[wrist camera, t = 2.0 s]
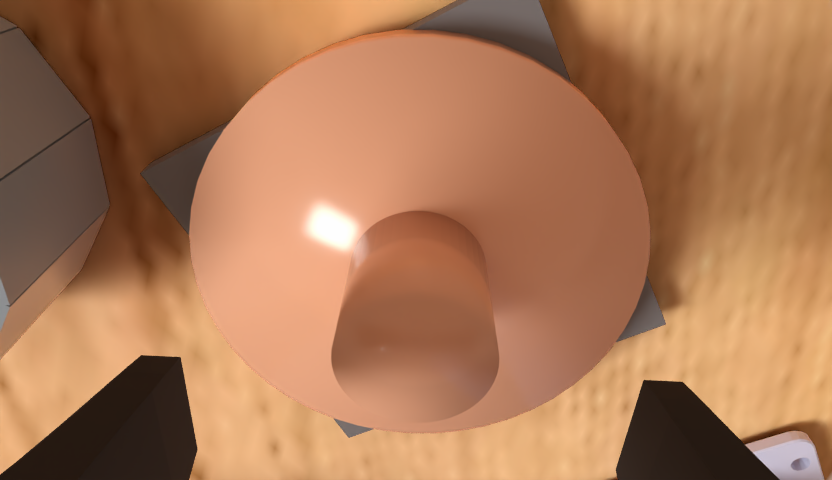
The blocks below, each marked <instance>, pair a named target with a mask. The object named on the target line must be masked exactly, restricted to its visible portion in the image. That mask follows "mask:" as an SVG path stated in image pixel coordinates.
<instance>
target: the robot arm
mask: <svg viewBox="0 0 832 480" xmlns="http://www.w3.org/2000/svg"><path fill="white" fill-rule="evenodd" d="M196 453H197V445H196V439H195V434H194V428H193V423H192V417H191V412H190V406H189V401H188V395H187V390H186V384H185V379H184V373H183V368H182V363H181V357H165V356H144V355H141V356H140V357H139V358H138V359H136V360H135V361H134V362H133V363H132V364H130V365H129V366H128V367H127V368H126V369H125V370H123V371H122V372H121V373H120V374H119V375H118V376H116V377H115V378H114V379H113V380H112V381H111V382H109V383H108V384H107V385H106V386H105V387H104V388H102V389H101V390H100V391H99V392H98V393H97V394H96V395H94V396H93V397H92V398H91V399H90V400H89V401H88V402H86V403H85V404H84V405H83V406H82V407H81V408H80V409H78V410H77V411H76V412H75V413H74V414H73V415H71V416H70V417H69V418H68V419H67V420H66V421H64V422H63V423H62V424H61V425H60V426H59V427H57V428H56V429H55V430H54V431H53V432H51V433H50V434H49V435H48V436H47V437H46V438H44V439H43V440H42V441H41V442H40V443H38V444H37V445H36V446H35V447H34V448H32V449H31V450H30V451H29V452H28V453H26V454H25V455H24V456H23V457H22V458H20V459H19V460H18V461H17V462H16V463H14V464H13V465H12V466H11V467H9V468H8V469H7V470H6V471H4V472H3V473H2V474H1V475H0V480H189V478H190V474H191V471H192V467H193V464H194V460H195V456H196ZM616 473H617V478H618V480H825V479H824V476H823V472H822V469H821V465H820V462H819V458H818V455H817V451H816V447H815V445H814V444H813V442H812V441H811V439H810V438H809V436H808V435H807V434H806V433H804V432H802V431H789V432H785V433H781V434H778V435H775V436H771V437H768V438H765V439H761V440H758V441H755V442H752V443H748V444H744V443H743V442H742V441H741V440H740V439H739V438H738V437H737V436H736V435H735V434H734V433H733V432H732V431H731V430H730V429H729V428H728V427H727V426H726V425H725V424H724V423H723V422H722V421H721V420H720V419H719V418H718V417H717V416H716V415H715V414H714V413H713V412H712V411H711V410H710V409H709V408H708V407H707V406H706V405H705V404H704V403H703V402H702V401H701V400H700V399H699V398H698V397H697V396H696V395H695V394H694V393H693V392H692V391H691V390H690V389H689V388H688V387H687V386H686V385H685V384H684V383H683V382H672V381H652V380H644V381H643V384H642V387H641V390H640V394H639V397H638V400H637V403H636V406H635V410H634V413H633V416H632V419H631V422H630V426H629V429H628V432H627V435H626V439H625V442H624V445H623V448H622V451H621V455H620V458H619V461H618V464H617V468H616Z"/></svg>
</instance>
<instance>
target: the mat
mask: <svg viewBox="0 0 832 480" xmlns="http://www.w3.org/2000/svg"><path fill="white" fill-rule="evenodd" d="M402 30H440V31H448V32H456V33H464V34H469V35H473V36H477V37H480V38H484V39H488V40H492V41H495V42H499V43H501V44H504V45H506V46H509V47H511V48H513V49H516V50H518V51H520V52H523V53H525V54H528V55H530V56H532V57H533V58H535V59H537V60H538V61H540V62H542V63H543V64H545V65H547V66H548V67H550V68H552V69H553V70H555V71H557V72H558V73H559V74H560V75H562V76H563V77H564V78H565V79H567V80H568V81H569V82H570V83H571V81H570V78H569V76H568V73H567V71H566V68H565V66H564V63H563V60H562V58H561V55H560V53H559V50H558V48H557V45H556V43H555V40H554V38H553V35H552V32H551V30H550V27H549V25H548V22H547V20H546V17H545V15H544V12H543V9H542V7H541V4H540V2H539V0H457V1H455V2H453V3H451V4H449V5H447V6H446V7H444V8H442V9H440V10H438V11H436V12H434V13H432V14H430V15H429V16H427V17H425V18H423V19H421V20H419V21H417V22H415V23H413V24H412V25H410V26H408V27H406V28H404V29H402ZM231 121H232V120H231ZM231 121H229V122H227V123H225V124H223V125H221V126H219V127H217V128H215V129H214V130H212V131H210V132H208V133H206V134H204V135H202V136H200V137H198V138H197V139H195V140H193V141H191V142H189V143H187V144H185V145H183V146H182V147H180V148H178V149H176V150H174V151H172V152H170V153H168V154H166V155H165V156H163V157H161V158H159V159H157V160H155V161H153V162H151V163H150V164H149V165H148V166H147V167H146V168H145V169H144V170H143V171H142V172H141V173H140V174H141V175H142V176H143V178H144V179H145V180H146V181H147V183H148V184H149V185H150V187H151V188H152V189H153V190H154V192H155V193H156V194H157V195H158V197H159V198H160V199H161V200H162V202H163V203H164V204H165V206H166V207H167V208H168V209H169V211H170V212H171V213H172V214H173V216H174V217H175V218H176V219H177V221H178V222H179V223H180V225H181V226H182V227H183V228H184V230H185V231H186V232H187V233H188V235H189V229H190V216H191V206H192V202H193V198H194V194H195V189H196V185H197V181H198V178H199V176H200V174H201V171H202V169H203V166H204V164H205V162H206V159H207V157H208V154H209V153H210V151H211V150H212V148H213V146H214V145H215V143H216V141H217V140H218V138H219V137H220V135H221V133H222V132H223V130H224V129H225V128H226V126H227V125H228V124H229V123H230V122H231ZM665 324H666V323H665V320H664V318H663V315H662V313H661V310H660V308H659V305H658V302H657V300H656V297H655V295H654V292H653V290H652V287H651V285H650V282H649V279H648V277H647V274H646V279H645V284H644V287H643V289H642V292H641V295H640V298H639V300H638V303H637V306H636V308H635V310H634V312H633V314H632V316H631V318H630V320H629V322H628V324H627V325H626V327H625V329H624V331H623V332H622V334H621V335H620V336H619V338H618V339H617V341H616V342H618V341H621V340H623V339H626V338H629V337H632V336H634V335H637V334H640V333H643V332H646V331H648V330H651V329H654V328H657V327H660V326H662V325H665ZM334 420H335V421H336V422H337V424H338V425H339V426H340V427H341V429H342V430H343V431H344V432H345V434H346V435H347V436H348V437H349V438H350V437H353V436H355V435H358V434H361V433H364V432H367V431H369V430H372V429H373V428H368V427H363V426H358V425H355V424H351V423H348V422H344V421H341V420H338V419H334Z"/></svg>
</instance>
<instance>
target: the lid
mask: <svg viewBox="0 0 832 480" xmlns="http://www.w3.org/2000/svg"><path fill="white" fill-rule="evenodd" d="M650 237H651V230H650V221H649V213H648V205H647V201H646V198H645V194H644V190H643V187H642V183H641V180H640V177H639V175H638V173H637V170H636V168H635V166H634V164H633V162H632V160H631V157H630V155H629V153H628V151H627V150H626V148H625V147H624V145H623V144H622V142H621V141H620V139H619V138H618V136H617V135H616V133H615V132H614V130H613V129H612V127H611V126H610V124H609V123H608V122H607V120H606V119H605V118H604V116H603V115H602V114H601V112H600V111H599V110H598V109H597V108H596V107H595V106H594V105H593V104H592V103H591V101H590V100H589V99H588V98H587V97H586V96H585V95H584V94H583V93H582V92H581V91H580V90H579V89H578V88H577V87H575V86H574V85H573V84H572V83H570V82H569V81H568V80H567V79H565V78H564V77H563V76H562V75H560V74H559V73H558V72H557V71H555V70H553V69H552V68H550V67H548V66H547V65H545V64H543V63H542V62H540V61H538V60H537V59H535V58H533V57H532V56H530V55H528V54H525V53H523V52H520V51H518V50H516V49H513V48H511V47H509V46H506V45H504V44H501V43H499V42H495V41H492V40H488V39H484V38H480V37H477V36H473V35H469V34H464V33H456V32H448V31H440V30H393V31H386V32H380V33H373V34H366V35H362V36H359V37H355V38H352V39H348V40H345V41H342V42H338V43H335V44H332V45H330V46H328V47H325V48H323V49H321V50H319V51H316V52H314V53H312V54H310V55H308V56H305V57H303V58H302V59H300V60H299V61H297V62H295V63H294V64H292V65H291V66H289V67H288V68H286V69H284V70H283V71H281V72H280V73H278V74H277V75H276V76H274V77H273V78H272V79H271V80H270V81H269V82H267V83H266V84H265V85H264V86H263V87H262V88H261V89H259V90H258V91H257V92H256V93H255V94H254V95H253V96H252V97H251V98H250V99H249V101H248V102H247V103H246V104H245V105H244V106H243V108H242V109H241V110H240V111H239V112H238V113H237V115H236V116H235V117H234V118H233V119H232V121H231V122H230V123H229V124H228V125H227V126H226V128H225V129H224V130H223V132H222V133H221V135H220V137H219V138H218V140H217V141H216V143H215V145H214V146H213V148H212V150H211V151H210V153H209V154H208V157H207V159H206V162H205V164H204V166H203V169H202V171H201V174H200V176H199V178H198V181H197V185H196V189H195V194H194V198H193V202H192V206H191V216H190V229H189V238H190V251H191V261H192V265H193V270H194V274H195V278H196V283H197V286H198V288H199V291H200V294H201V296H202V299H203V301H204V304H205V307H206V309H207V310H208V312H209V314H210V316H211V318H212V320H213V321H214V323H215V325H216V327H217V329H218V330H219V331H220V333H221V334H222V336H223V337H224V338H225V340H226V341H227V342H228V344H229V345H230V346H231V348H232V349H233V350H234V351H235V352H236V354H237V355H238V356H239V357H240V358H241V359H242V360H243V361H244V362H245V363H246V364H247V365H248V366H249V367H250V368H251V369H252V370H253V371H254V372H256V373H257V374H258V375H259V376H260V377H261V378H263V379H264V380H265V381H266V382H267V383H269V384H270V385H272V386H273V387H275V388H276V389H278V390H279V391H280V392H282V393H283V394H285V395H286V396H288V397H289V398H291V399H293V400H295V401H297V402H299V403H301V404H303V405H305V406H306V407H308V408H310V409H312V410H315V411H317V412H320V413H322V414H325V415H327V416H329V417H332V418H334V419H338V420H341V421H344V422H348V423H351V424H355V425H358V426H363V427H368V428H373V429H378V430H383V431H393V432H403V433H441V432H453V431H461V430H467V429H472V428H477V427H483V426H487V425H490V424H493V423H497V422H500V421H504V420H507V419H510V418H512V417H515V416H517V415H520V414H522V413H525V412H528V411H530V410H532V409H534V408H536V407H538V406H540V405H542V404H544V403H545V402H547V401H549V400H551V399H553V398H555V397H556V396H558V395H559V394H560V393H562V392H563V391H565V390H566V389H568V388H569V387H571V386H572V385H574V384H575V383H576V382H577V381H579V380H580V379H581V378H582V377H583V376H584V375H586V374H587V373H588V372H589V371H590V370H592V369H593V368H594V367H595V365H596V364H597V363H598V362H599V361H600V360H601V359H602V358H603V357H604V356H605V355H606V354H607V352H608V351H609V350H610V349H611V348H612V346H613V345H614V343H615V342H616V341H617V339H618V338H619V336H620V335H621V334H622V332H623V331H624V329H625V327H626V325H627V324H628V322H629V320H630V318H631V316H632V314H633V312H634V310H635V308H636V306H637V303H638V300H639V298H640V295H641V292H642V289H643V287H644V284H645V279H646V274H647V269H648V264H649V259H650Z"/></svg>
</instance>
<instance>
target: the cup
mask: <svg viewBox="0 0 832 480" xmlns="http://www.w3.org/2000/svg"><path fill="white" fill-rule="evenodd" d="M89 117H90V116H89V115H88V114H87V112H86V111H85V110H84V109H83V107H82V106H81V105H80V104H79V102H78V101H77V100H76V98H75V97H74V96H73V95H72V93H71V92H70V91H69V90H68V88H67V87H66V86H65V85H64V83H63V82H62V81H61V80H60V78H59V77H58V76H57V75H56V73H55V72H54V71H53V70H52V68H51V67H50V66H49V64H48V63H47V62H46V61H45V59H44V58H43V57H42V56H41V54H40V53H39V52H38V51H37V49H36V48H35V47H34V46H33V44H32V43H31V42H30V41H29V39H28V38H27V37H26V35H25V34H24V33H23V32H22V30H21V29H20V28H17V25H15V24H13V23H11V22H9V21H8V20H6V19H4V18H2V17H1V16H0V359H1V358H2V357H3V356H4V355H5V354H6V353H7V352H8V351H9V349H10V348H11V347H12V346H13V345H14V344H15V343H16V342H17V341H18V339H19V338H20V337H21V336H22V335H23V334H24V333H25V332H26V331H27V329H28V328H29V327H30V326H31V325H32V324H33V323H34V322H35V321H36V320H37V318H38V317H39V316H40V315H41V314H42V313H43V312H44V311H45V310H46V308H47V307H48V306H49V305H50V304H51V303H52V302H53V301H54V300H55V298H56V297H57V296H58V295H59V294H60V293H61V292H62V291H63V290H64V288H65V287H66V286H67V285H68V284H69V283H70V282H71V281H72V280H73V278H74V277H75V276H76V275H77V274H78V273H79V272H80V271H81V270H82V268H83V265H84V263H85V261H86V259H87V256H88V254H89V252H90V250H91V247H92V245H93V243H94V241H95V238H96V236H97V234H98V232H99V229H100V227H101V225H102V223H103V220H104V218H105V216H106V214H107V211H108V209H109V207H110V206H109V205H110V203H109V199H108V194H107V190H106V185H105V180H104V176H103V171H102V167H101V162H100V158H99V153H98V148H97V144H96V139H95V135H94V130H93V126H92V121H91V119H88V118H89Z"/></svg>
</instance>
